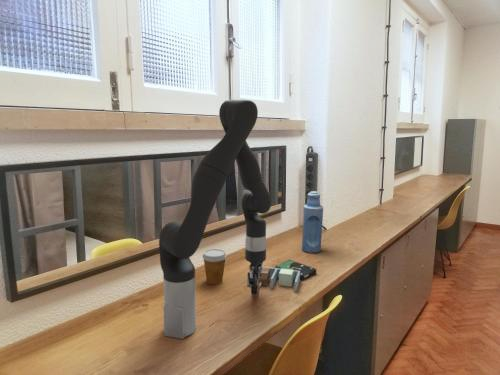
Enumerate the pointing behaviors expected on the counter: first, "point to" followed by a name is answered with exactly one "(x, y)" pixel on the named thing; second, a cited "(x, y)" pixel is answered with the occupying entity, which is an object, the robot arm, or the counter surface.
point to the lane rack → (275, 274)
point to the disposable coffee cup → (214, 265)
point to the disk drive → (298, 268)
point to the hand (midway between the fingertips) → (255, 291)
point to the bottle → (312, 224)
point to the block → (286, 277)
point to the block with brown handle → (263, 280)
